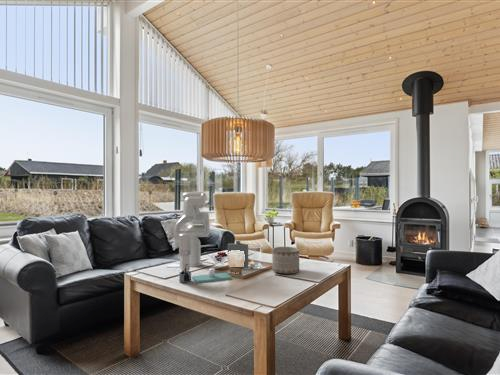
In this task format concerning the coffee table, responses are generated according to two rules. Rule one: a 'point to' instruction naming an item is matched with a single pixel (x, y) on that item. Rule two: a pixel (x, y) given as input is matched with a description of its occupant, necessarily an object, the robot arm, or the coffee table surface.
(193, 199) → the robot arm
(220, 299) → the coffee table surface
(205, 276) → the piston stand
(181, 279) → the gunmetal ring
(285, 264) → the planter
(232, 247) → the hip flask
